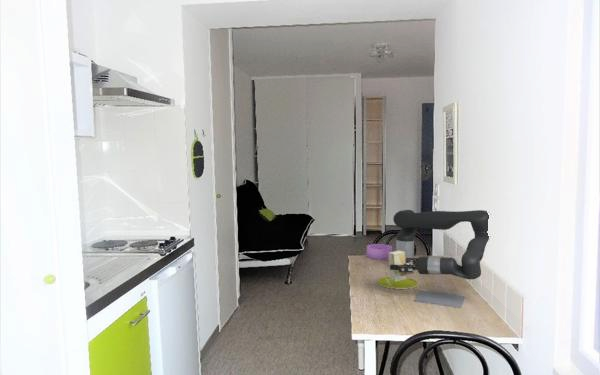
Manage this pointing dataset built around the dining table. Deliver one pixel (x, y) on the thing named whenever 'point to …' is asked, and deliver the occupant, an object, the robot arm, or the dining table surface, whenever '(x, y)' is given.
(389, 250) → the purple basket
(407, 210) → the robot arm
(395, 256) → the skincare box
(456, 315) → the dining table surface
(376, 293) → the dining table surface
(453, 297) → the mat
